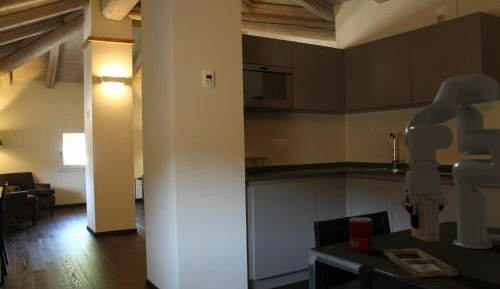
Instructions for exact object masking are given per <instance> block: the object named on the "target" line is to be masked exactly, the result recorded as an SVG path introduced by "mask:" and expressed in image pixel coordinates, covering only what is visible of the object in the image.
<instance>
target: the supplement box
mask: <svg viewBox="0 0 500 289" xmlns="http://www.w3.org/2000/svg"><path fill="white" fill-rule="evenodd" d="M417 215H418V220H419V228H418V229H415V228H413V227H412V225H411V224H410V231H411V232H410V234H411V236H412V237H413V238H416V239H418V240H421V241H423V242H425V243H427V242H431V243H432V242H440V237H441V236H440V214H439V203H438V196H420V203H419V205H418V209H417Z"/></svg>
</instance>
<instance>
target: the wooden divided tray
mask: <svg viewBox="0 0 500 289" xmlns="http://www.w3.org/2000/svg"><path fill="white" fill-rule="evenodd" d="M382 252H383V256H385V257H386V258H388V259H390V261H392V262H394V263H395V264H397V265H398V266H400V267H401V268H403V269H404V270H406V271H407V272H408V273H410V274H411V275H413V276H414V277H415V278H420V277H421V278H422V277H423V278H425V277H427V278H428V277H429V278H430V277H452V276H453V277H454V276H455V277H456V276H459V269H457V268H455V267H453V266H451V265H449V264H447V263H445V262H443V261H442V260H440V259H438V258H436V257H434V256H432V255H431V254H428V253H426V252H424V251H423V250H422V249H420V248H405V249H404V248H403V249H402V248H401V249H397V248H396V249H383V251H382ZM397 255H399V256H400V255H418V256H419V258H400V257H397ZM420 257H421V258H420Z"/></svg>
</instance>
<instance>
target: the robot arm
mask: <svg viewBox="0 0 500 289" xmlns="http://www.w3.org/2000/svg"><path fill="white" fill-rule="evenodd" d="M499 95H500V86H499V83H498V82H497V80H496V79H494V78H493V77H491V76H488V75H485V74H482V73H471V74H464V75H457V76H451V77H449V78H447V79H445V80H444V81H443V82H442V83H441V85H440V87H439V89H438V91H437V93H436V96H435V97H434V100H433V102H432V103H431V104H429V105H427V106H426V107H424V108H422V109H421V110H420V111H418V112H416V114H414V115H413V116H412V117H411V118H410V119H409V121H408V123H407V125H406V127H405V129H404V131H403V138H402V139H403V144H404V146H405V147H406V148H407V149H408V171H406V172H405V176H404V183H403V184H404V187H403V196H402V197H401V199H400V200H399V201H398V205H399V206H400V207H402V208H403V209H404V210H405V211H406V212H408V214H409V215H410V216H409V217H410V220H409V221H410V226H411V225H412V227H413V228H415V229H418V228H419V220H418V215H417V209H418V205H419V203H420V196H438V203H439V215H440V214H441V212H442V211H443V210H444V209H445V208H446V207H447V206H448V205H449V204H450V201H449V200H448V199H447V198H446V196H445V195H444V194H443V184H442V179H441V175H440V172H439V170H438V167H439V168H440V167H441V166H442V165H441V162H439V161H437V152H436V151H437V150H444V149H448V148H449V147H451V145H452V144H453V142H454V138H455V137H454V133H453V130H452V129H451V128H450V127H449V126H447V125H443V123H446V122H450V121H451V120H453V119H455V118H456V126H457V127H456V144H457V145H456V148H457V151H458V153H459V154H461V155H462V156H490V157H491V158H463V159H459V160H457V161H455V162H454V163H453V165H452V168H451V174H452V177H453V178H452V179H453V182H454V187H455V201H456V202H455V204H456V205H455V207H456V225H457V226H456V227H457V228H456V229H457V232H456V233H457V239H453V240H452V244H453V245H455V246H456V247H460V248H464V249H473V250H474V249H475V250H487V249H491V248H493V247H494V246H493V243H492V241H500V234H492V233H489V232H488V226H487V225H488V224H487V204H486V203H487V199H486V197H485V194H484V192H483V191H482V190H481V189H480V188H479V186H488V187H489V186H490V187H491V186H492V187H496V186H497V187H500V128H484V116H483V114H482V112H480V110H479V109H478V108H477V107H476V106H475V105H477V104H488V103H493V102H496V101H497V99H498V98H499ZM408 204H409V205H408Z"/></svg>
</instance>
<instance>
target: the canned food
mask: <svg viewBox="0 0 500 289" xmlns="http://www.w3.org/2000/svg"><path fill="white" fill-rule="evenodd" d="M373 231H374V230H373V219H372V218H371V217H370V218H369V217H363V216H361V217H360V216H359V217H358V216H356V217H350V218H349V242H350V244H349V246H350V249H351V250H352V251H354V252H360V251H367V252H371V251H373V249H374V236H373V235H374V233H373Z"/></svg>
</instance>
